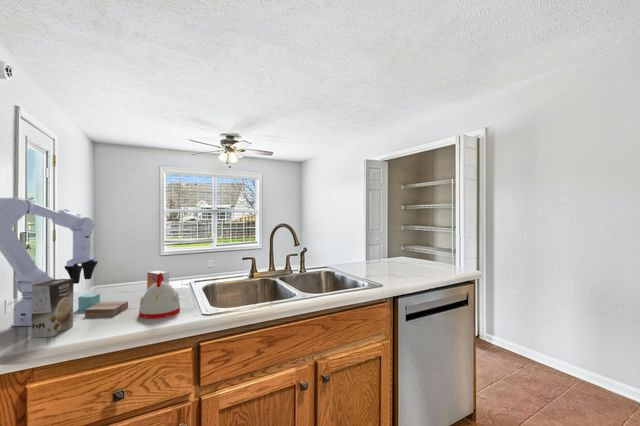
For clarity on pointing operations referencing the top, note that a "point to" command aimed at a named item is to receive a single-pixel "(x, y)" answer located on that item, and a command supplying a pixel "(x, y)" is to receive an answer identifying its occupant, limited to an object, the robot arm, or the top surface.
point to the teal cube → (88, 301)
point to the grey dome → (159, 300)
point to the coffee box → (52, 307)
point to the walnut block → (106, 309)
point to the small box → (153, 277)
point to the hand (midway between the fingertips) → (81, 281)
